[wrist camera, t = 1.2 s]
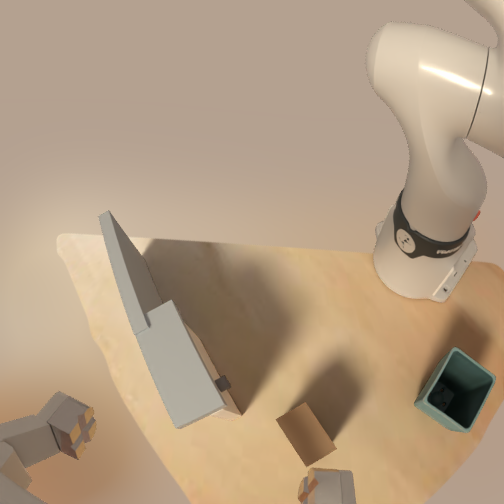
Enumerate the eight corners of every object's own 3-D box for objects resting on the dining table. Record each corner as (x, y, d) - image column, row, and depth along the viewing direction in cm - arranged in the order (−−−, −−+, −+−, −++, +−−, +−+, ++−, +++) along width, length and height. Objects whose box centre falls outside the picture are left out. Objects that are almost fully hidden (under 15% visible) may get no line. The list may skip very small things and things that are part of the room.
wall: (162, 250, 60) (129, 198, 47) (246, 413, 41) (223, 404, 29) (135, 264, 59) (98, 216, 46) (211, 431, 40) (174, 428, 28)
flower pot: (468, 389, 37) (498, 376, 30) (441, 436, 34) (468, 434, 27) (430, 361, 41) (454, 344, 34) (400, 408, 38) (421, 401, 31)
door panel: (207, 334, 49) (182, 304, 39) (250, 411, 41) (234, 403, 31) (191, 343, 48) (162, 315, 38) (232, 421, 41) (210, 415, 31)
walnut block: (304, 407, 41) (305, 401, 33) (329, 445, 37) (336, 448, 30) (279, 422, 40) (275, 419, 33) (304, 460, 37) (306, 467, 29)
